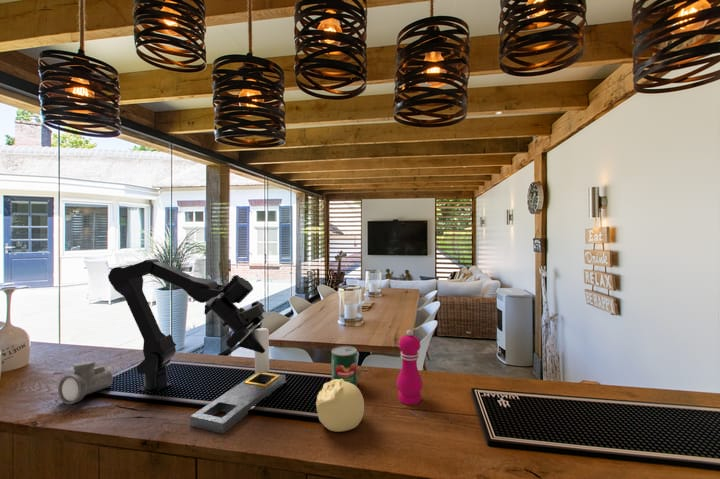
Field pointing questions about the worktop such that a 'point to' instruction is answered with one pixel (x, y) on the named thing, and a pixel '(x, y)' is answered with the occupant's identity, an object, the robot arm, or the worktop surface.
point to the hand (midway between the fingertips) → (266, 349)
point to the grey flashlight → (84, 381)
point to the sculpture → (340, 405)
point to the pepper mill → (409, 370)
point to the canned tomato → (344, 364)
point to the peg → (262, 358)
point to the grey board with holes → (236, 402)
